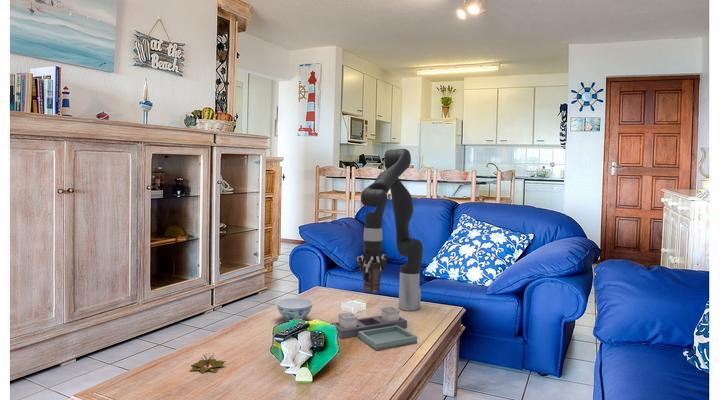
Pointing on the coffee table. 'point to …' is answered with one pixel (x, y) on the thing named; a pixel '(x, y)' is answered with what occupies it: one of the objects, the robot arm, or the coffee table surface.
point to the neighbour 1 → (347, 320)
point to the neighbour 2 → (390, 314)
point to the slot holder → (368, 325)
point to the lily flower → (207, 362)
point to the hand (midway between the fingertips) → (371, 280)
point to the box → (373, 278)
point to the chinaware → (294, 308)
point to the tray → (387, 337)
